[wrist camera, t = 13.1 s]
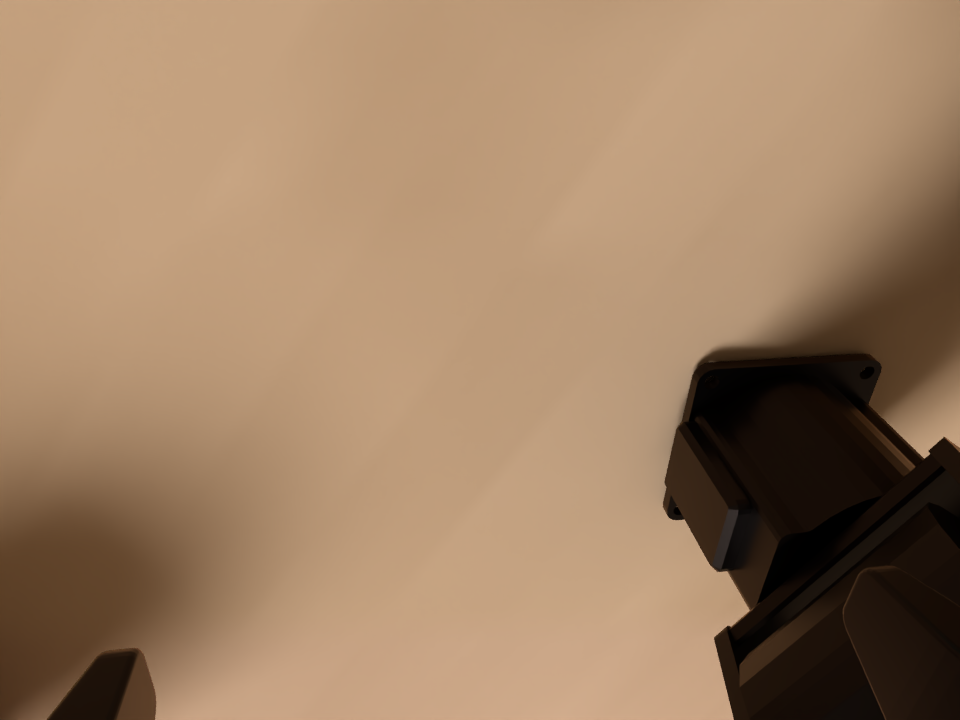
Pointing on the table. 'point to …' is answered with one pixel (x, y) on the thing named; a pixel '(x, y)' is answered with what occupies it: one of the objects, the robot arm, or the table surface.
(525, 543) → the table surface
